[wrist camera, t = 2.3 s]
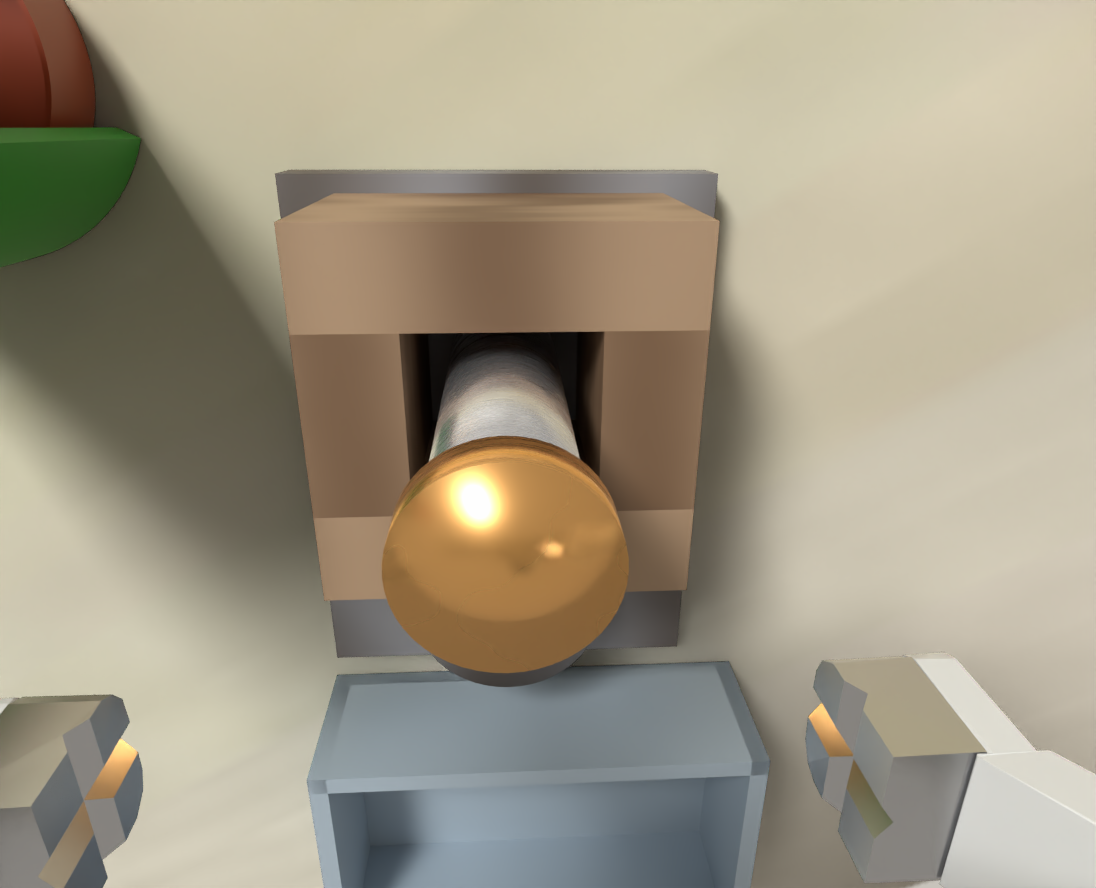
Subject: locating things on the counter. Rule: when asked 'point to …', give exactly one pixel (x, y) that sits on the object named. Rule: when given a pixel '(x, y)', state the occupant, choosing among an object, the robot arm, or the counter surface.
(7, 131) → the motor
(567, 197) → the bracket
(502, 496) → the pin
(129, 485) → the counter surface
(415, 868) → the tray
